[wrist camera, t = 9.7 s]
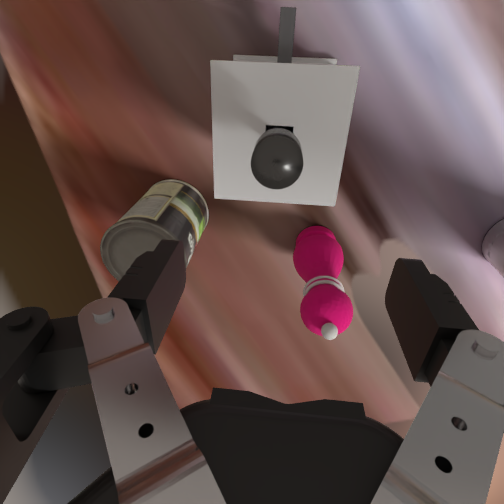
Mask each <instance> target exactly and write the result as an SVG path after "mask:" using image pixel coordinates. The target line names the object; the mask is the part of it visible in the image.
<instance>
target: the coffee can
mask: <svg viewBox="0 0 504 504" xmlns="http://www.w3.org/2000/svg"><path fill="white" fill-rule="evenodd" d="M208 218H209V212H208V206H207V203H206V201H205V199H204V197H203V196H202V195H201V193H200V192H199V191H198V190H197V189H196V188H194V187H193V186H191V185H190V184H188V183H186V182H183V181H180V180H173V179H169V180H163V181H160V182H158V183H156V184H154V185H153V186H152V187H151V188H150V189H149V190H148V192H147V193H146V194H145V195H144V196H143V197H142V198H141V199H140V200H139V201H138V202H137V203H136V204H135V205H134V206H133V207H132V208H131V209H130V210H129V211H128V212H127V213H126V214H125V215H124V216H123V217H122V218H121V219H120V220H119V221H118V222H117V223H115V224H114V225H112V226H111V227H110V228H109V229H108V230H107V231H106V232H105V234H104V236H103V238H102V241H101V245H100V251H101V257H102V260H103V262H104V264H105V266H106V268H107V269H108V271H109V272H110V273H111V274H112V275H113V276H114V277H115V278H116V279H117V280H118V281H120V280H121V278H122V277H123V276H124V275H125V273H126V271H127V270H128V269H129V268H130V266H131V265H132V263H133V262H134V261H135V259H136V258H137V257H138V256H140V255H142V254H143V253H145V252H146V251H154V250H155V248H156V247H157V245H158V244H159V242H160V241H161V240H162V239H165V240H178V241H182V242H183V247H184V258H185V269H186V267H187V265H188V263H189V260H190V258H191V256H192V254H193V252H194V250H195V248H196V245H197V243H198V241H199V239H200V237H201V234H202V232H203V230H204V229H205V227H206V225H207V222H208Z"/></svg>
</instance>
